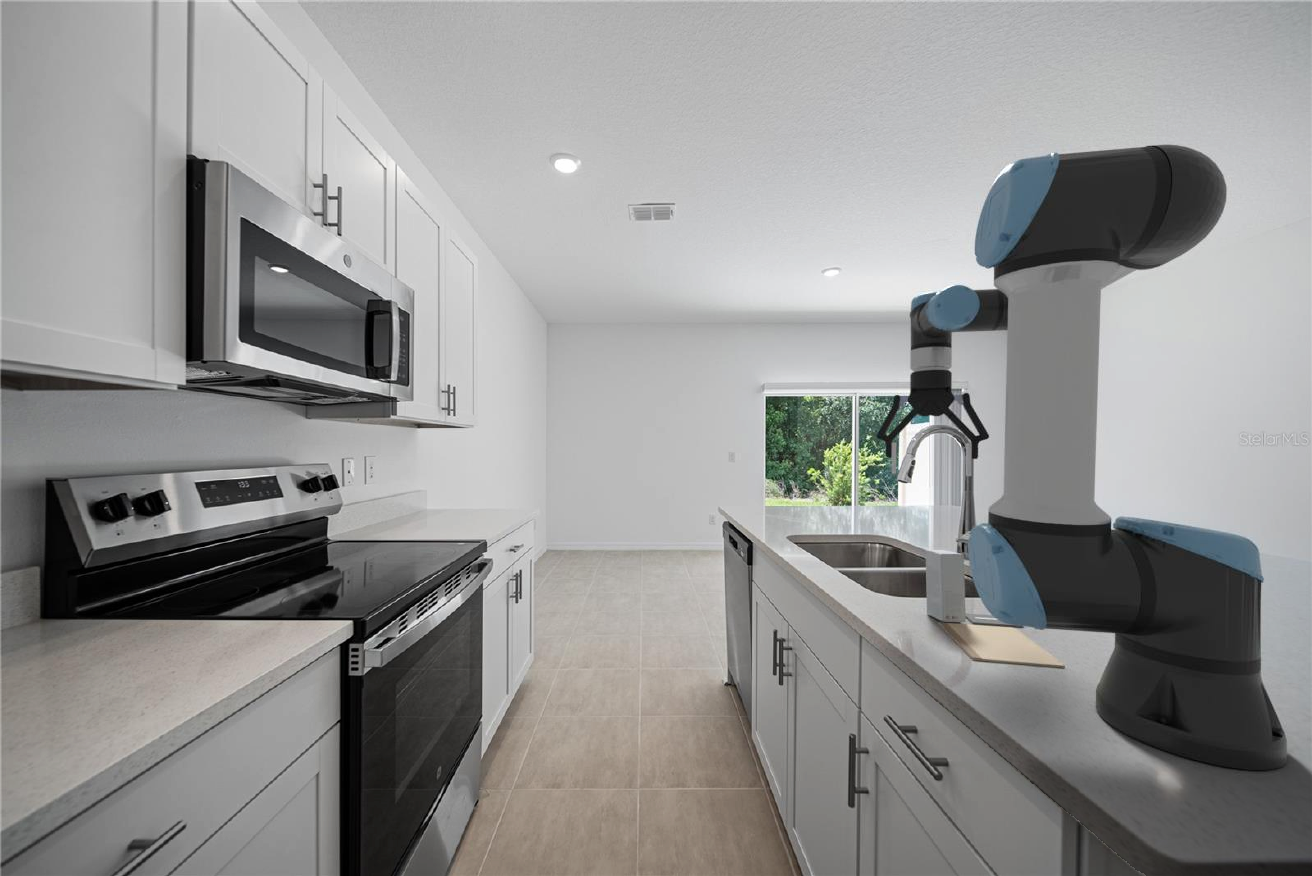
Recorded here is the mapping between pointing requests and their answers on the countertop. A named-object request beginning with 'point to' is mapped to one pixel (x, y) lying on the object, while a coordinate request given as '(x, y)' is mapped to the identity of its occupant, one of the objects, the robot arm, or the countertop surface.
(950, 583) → the skincare box
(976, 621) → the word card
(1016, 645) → the notepad
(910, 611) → the countertop surface
